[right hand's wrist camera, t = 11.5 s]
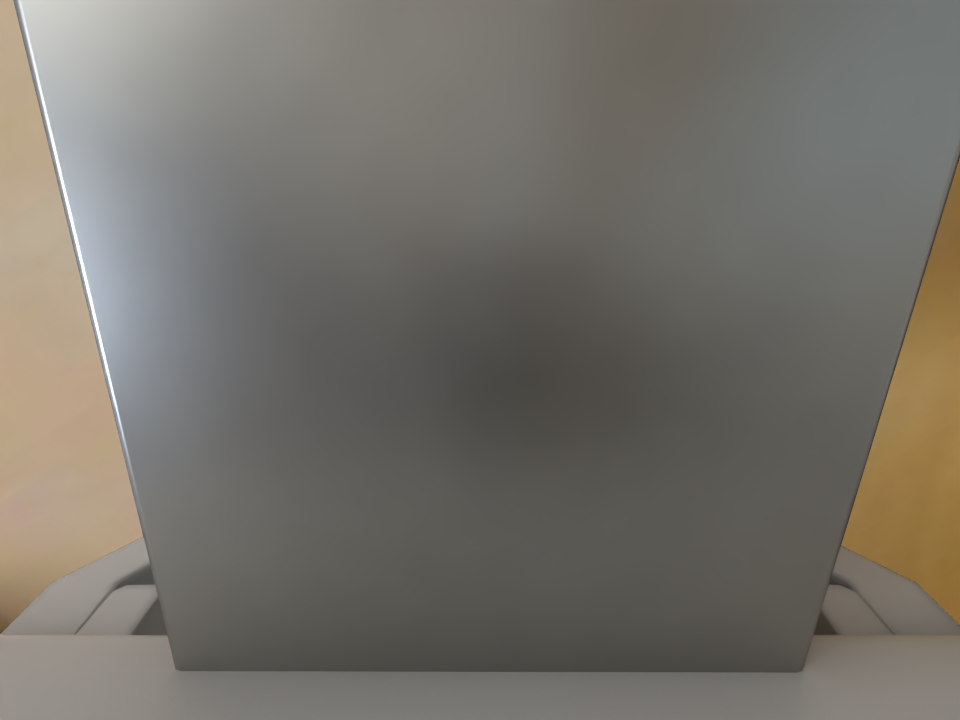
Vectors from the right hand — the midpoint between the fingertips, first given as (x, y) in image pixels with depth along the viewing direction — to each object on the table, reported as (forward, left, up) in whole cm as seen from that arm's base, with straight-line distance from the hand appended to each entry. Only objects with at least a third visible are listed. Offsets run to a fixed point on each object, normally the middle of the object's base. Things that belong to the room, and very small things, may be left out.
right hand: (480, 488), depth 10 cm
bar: (-3, +8, -3) cm, 9 cm away
